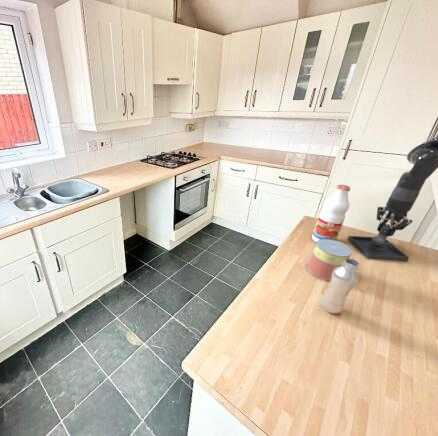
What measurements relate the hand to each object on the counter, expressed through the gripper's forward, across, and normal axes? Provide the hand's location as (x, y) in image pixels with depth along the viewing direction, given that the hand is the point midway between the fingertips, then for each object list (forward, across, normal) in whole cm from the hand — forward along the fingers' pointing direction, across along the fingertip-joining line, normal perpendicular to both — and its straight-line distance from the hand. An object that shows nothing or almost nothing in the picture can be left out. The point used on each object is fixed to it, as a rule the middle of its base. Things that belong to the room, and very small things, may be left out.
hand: (384, 233), depth 106 cm
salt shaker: (+7, 0, 0) cm, 7 cm away
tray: (+9, 0, 0) cm, 9 cm away
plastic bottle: (+9, -32, +43) cm, 55 cm away
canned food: (+9, -14, +33) cm, 37 cm away
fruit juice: (+9, +8, +19) cm, 23 cm away
